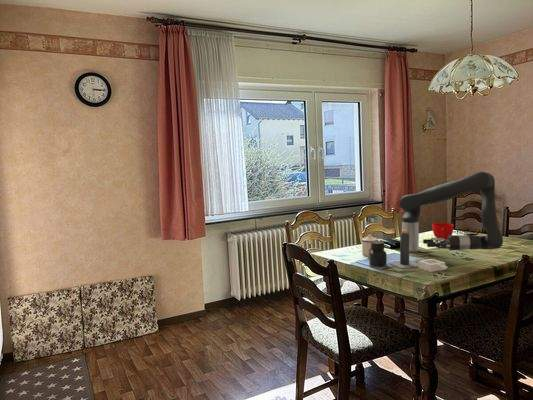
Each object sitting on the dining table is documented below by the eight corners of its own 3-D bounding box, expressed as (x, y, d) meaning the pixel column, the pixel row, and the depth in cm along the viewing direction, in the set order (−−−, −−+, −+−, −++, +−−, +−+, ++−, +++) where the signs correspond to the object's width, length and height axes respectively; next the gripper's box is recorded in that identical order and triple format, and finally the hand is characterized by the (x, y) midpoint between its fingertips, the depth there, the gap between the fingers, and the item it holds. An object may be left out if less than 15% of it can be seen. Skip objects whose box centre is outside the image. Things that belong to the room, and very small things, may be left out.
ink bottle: (385, 262, 222) (385, 240, 221) (389, 266, 213) (389, 243, 212) (367, 263, 222) (366, 240, 221) (370, 267, 214) (369, 244, 212)
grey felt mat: (387, 263, 219) (387, 262, 219) (407, 260, 223) (407, 260, 223) (401, 268, 208) (401, 267, 208) (421, 266, 212) (421, 265, 212)
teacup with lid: (370, 257, 234) (369, 236, 233) (358, 254, 242) (358, 234, 241) (385, 254, 241) (384, 234, 240) (373, 251, 248) (372, 232, 247)
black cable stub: (398, 263, 217) (398, 229, 215) (405, 262, 218) (405, 229, 217) (403, 265, 213) (403, 231, 211) (411, 264, 214) (410, 230, 212)
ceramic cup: (431, 241, 268) (431, 226, 267) (432, 237, 284) (432, 222, 283) (453, 242, 263) (453, 227, 262) (453, 237, 279) (453, 222, 278)
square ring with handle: (418, 267, 209) (418, 260, 209) (432, 265, 212) (432, 258, 211) (438, 274, 195) (438, 267, 195) (454, 272, 198) (454, 265, 197)
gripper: (454, 232, 218) (421, 233, 220) (463, 238, 203) (428, 238, 206) (454, 246, 218) (421, 247, 220) (463, 253, 204) (428, 253, 206)
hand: (425, 243), depth 213 cm, fingers open, 8 cm apart
